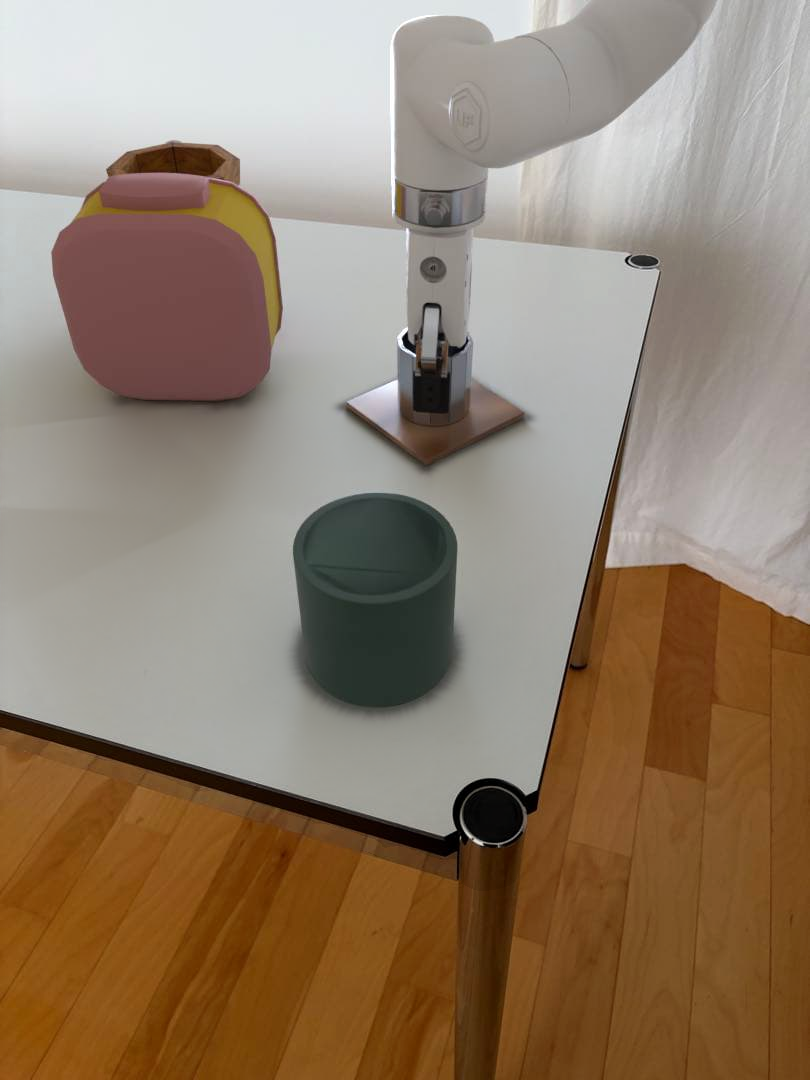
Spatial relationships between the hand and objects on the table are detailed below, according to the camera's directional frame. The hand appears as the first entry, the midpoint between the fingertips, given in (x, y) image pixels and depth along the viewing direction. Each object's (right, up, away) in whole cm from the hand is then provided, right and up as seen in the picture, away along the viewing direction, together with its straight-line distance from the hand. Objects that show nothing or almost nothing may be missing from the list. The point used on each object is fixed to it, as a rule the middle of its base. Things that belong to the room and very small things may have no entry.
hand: (434, 386), depth 83 cm
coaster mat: (0, -2, +2) cm, 3 cm away
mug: (-27, +15, +21) cm, 37 cm away
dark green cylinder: (-5, -22, -20) cm, 30 cm away
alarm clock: (-24, +2, +7) cm, 25 cm away
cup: (0, -2, +1) cm, 2 cm away
